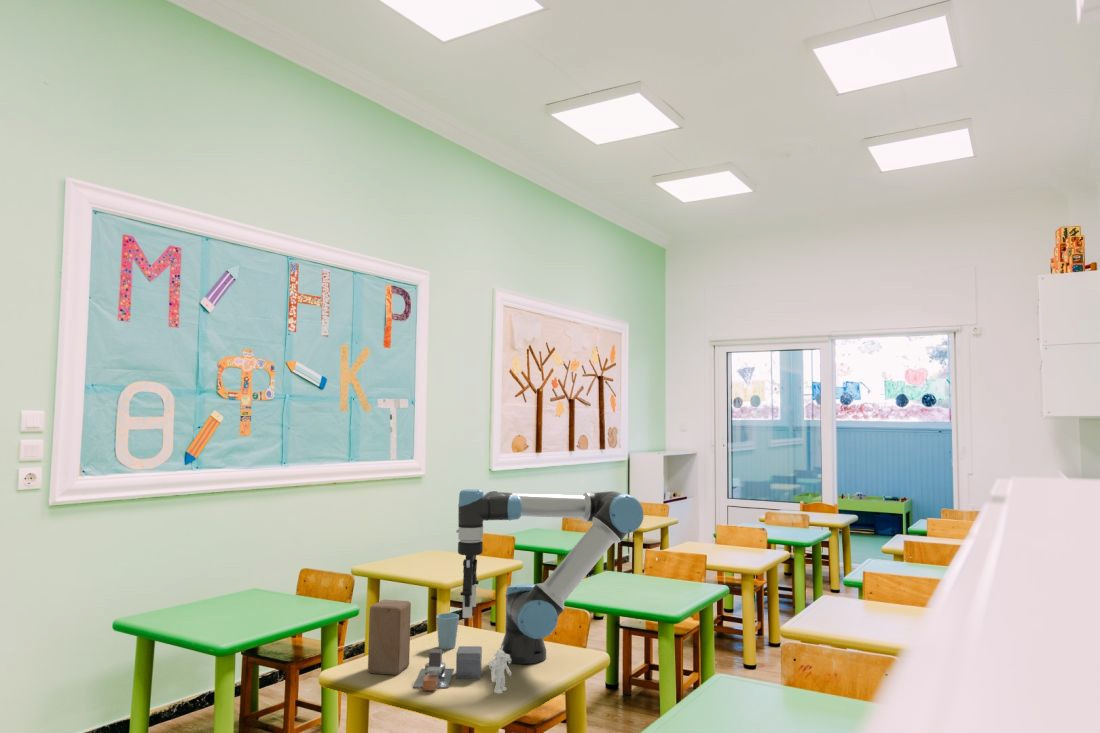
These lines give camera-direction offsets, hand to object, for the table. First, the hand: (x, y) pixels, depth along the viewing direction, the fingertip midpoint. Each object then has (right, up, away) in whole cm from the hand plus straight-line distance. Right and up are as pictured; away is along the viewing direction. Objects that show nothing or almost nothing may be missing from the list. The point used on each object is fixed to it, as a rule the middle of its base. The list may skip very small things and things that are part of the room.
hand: (469, 612), depth 223 cm
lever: (-10, -18, -6) cm, 21 cm away
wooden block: (-25, -19, +3) cm, 32 cm away
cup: (-11, -21, +27) cm, 36 cm away
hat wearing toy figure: (+10, -18, -14) cm, 25 cm away
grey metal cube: (0, -19, -2) cm, 19 cm away
